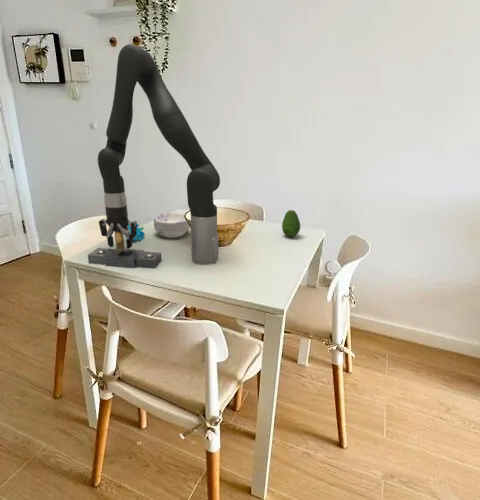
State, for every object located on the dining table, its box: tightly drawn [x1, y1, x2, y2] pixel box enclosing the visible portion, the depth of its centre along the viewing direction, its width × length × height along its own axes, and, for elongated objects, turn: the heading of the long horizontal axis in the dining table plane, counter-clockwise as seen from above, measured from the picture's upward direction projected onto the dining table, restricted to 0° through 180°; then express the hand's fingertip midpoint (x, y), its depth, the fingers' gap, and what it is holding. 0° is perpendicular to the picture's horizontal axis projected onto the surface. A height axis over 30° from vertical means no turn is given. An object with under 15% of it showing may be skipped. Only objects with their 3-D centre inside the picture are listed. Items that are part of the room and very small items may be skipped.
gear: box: [127, 220, 146, 242], centre depth 148 cm, size 11×6×10 cm
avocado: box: [281, 209, 301, 238], centre depth 154 cm, size 8×8×12 cm
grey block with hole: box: [87, 247, 162, 269], centre depth 126 cm, size 24×9×4 cm, turn 82°
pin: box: [114, 231, 126, 249], centre depth 134 cm, size 3×3×8 cm
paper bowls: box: [153, 212, 191, 239], centre depth 154 cm, size 15×15×8 cm
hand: (120, 247), depth 135 cm, fingers open, 6 cm apart
